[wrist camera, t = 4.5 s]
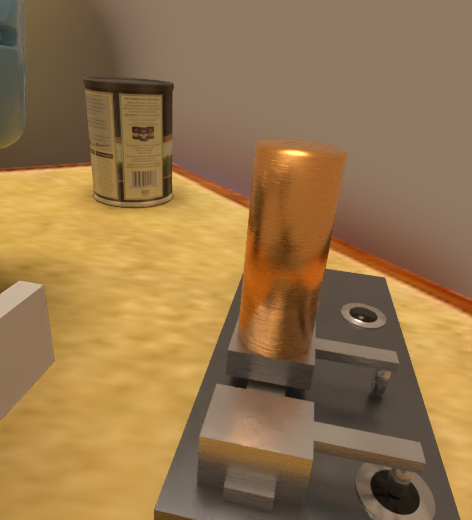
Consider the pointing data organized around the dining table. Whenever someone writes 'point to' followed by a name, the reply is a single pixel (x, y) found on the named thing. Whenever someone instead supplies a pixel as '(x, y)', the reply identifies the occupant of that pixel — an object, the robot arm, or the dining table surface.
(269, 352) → the sliding jaw
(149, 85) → the coffee can
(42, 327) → the robot arm
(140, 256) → the dining table surface
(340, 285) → the plate
